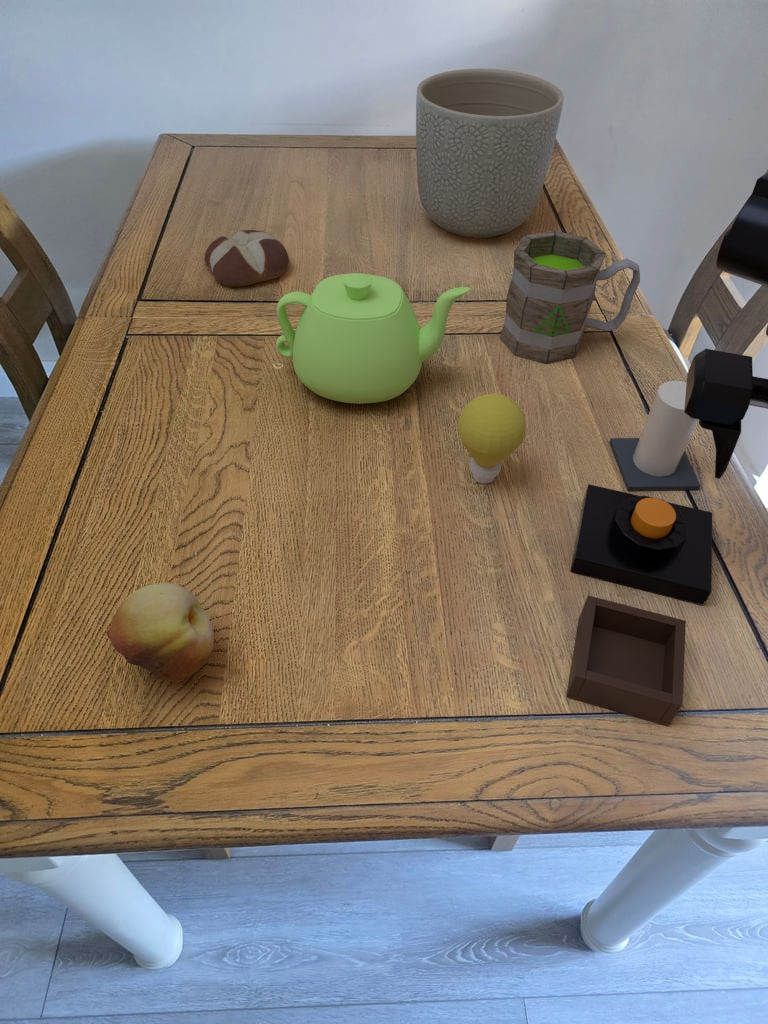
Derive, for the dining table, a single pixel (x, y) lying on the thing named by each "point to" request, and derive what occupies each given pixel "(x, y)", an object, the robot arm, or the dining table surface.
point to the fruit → (163, 631)
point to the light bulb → (490, 433)
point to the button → (653, 518)
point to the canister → (665, 431)
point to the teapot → (360, 337)
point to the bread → (246, 258)
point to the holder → (628, 661)
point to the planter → (484, 147)
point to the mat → (645, 482)
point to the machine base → (644, 547)
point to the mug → (557, 295)
